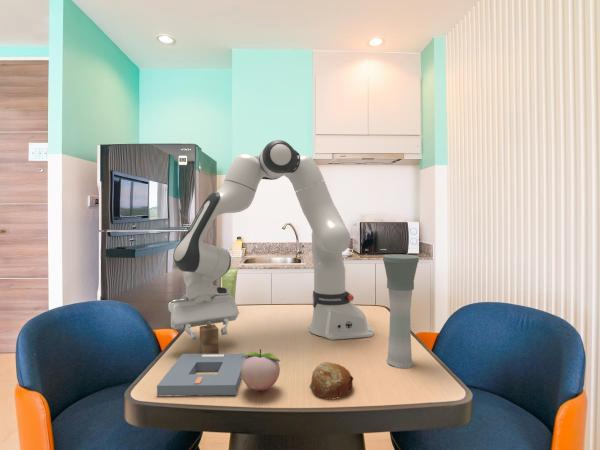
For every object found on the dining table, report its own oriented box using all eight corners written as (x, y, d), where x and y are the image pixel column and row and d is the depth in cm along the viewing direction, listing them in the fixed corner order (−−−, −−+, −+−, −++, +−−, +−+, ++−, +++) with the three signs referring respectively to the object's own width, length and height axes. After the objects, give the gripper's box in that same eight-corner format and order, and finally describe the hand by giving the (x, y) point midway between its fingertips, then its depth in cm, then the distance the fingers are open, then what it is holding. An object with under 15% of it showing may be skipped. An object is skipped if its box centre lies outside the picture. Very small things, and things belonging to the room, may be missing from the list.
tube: (232, 310, 149) (232, 265, 148) (238, 313, 145) (238, 267, 145) (220, 313, 146) (220, 267, 145) (226, 316, 142) (225, 268, 141)
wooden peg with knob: (214, 350, 106) (214, 316, 106) (218, 355, 102) (218, 320, 102) (200, 352, 104) (199, 318, 104) (203, 358, 100) (203, 322, 100)
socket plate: (246, 362, 97) (246, 352, 97) (235, 395, 79) (235, 383, 79) (182, 362, 97) (182, 352, 97) (157, 396, 79) (156, 384, 79)
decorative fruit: (237, 401, 77) (237, 357, 77) (243, 383, 85) (243, 343, 85) (279, 401, 77) (279, 357, 77) (281, 383, 85) (281, 343, 85)
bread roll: (315, 393, 88) (301, 365, 87) (351, 374, 88) (338, 347, 88) (321, 416, 78) (306, 385, 77) (361, 395, 78) (346, 364, 78)
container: (411, 355, 102) (412, 254, 101) (422, 370, 92) (423, 258, 91) (378, 355, 102) (379, 254, 101) (386, 370, 92) (387, 258, 91)
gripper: (168, 295, 104) (173, 337, 96) (234, 288, 114) (244, 325, 105) (166, 306, 108) (171, 347, 100) (230, 298, 118) (239, 335, 109)
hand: (209, 336), depth 103 cm, fingers open, 8 cm apart
